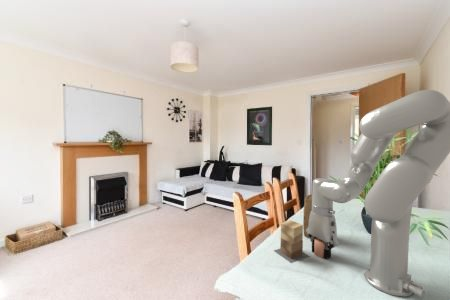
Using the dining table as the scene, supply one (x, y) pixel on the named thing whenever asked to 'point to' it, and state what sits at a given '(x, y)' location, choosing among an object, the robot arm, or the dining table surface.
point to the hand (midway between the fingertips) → (320, 254)
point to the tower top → (291, 231)
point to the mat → (290, 258)
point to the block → (307, 213)
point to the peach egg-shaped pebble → (319, 247)
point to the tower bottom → (292, 248)
